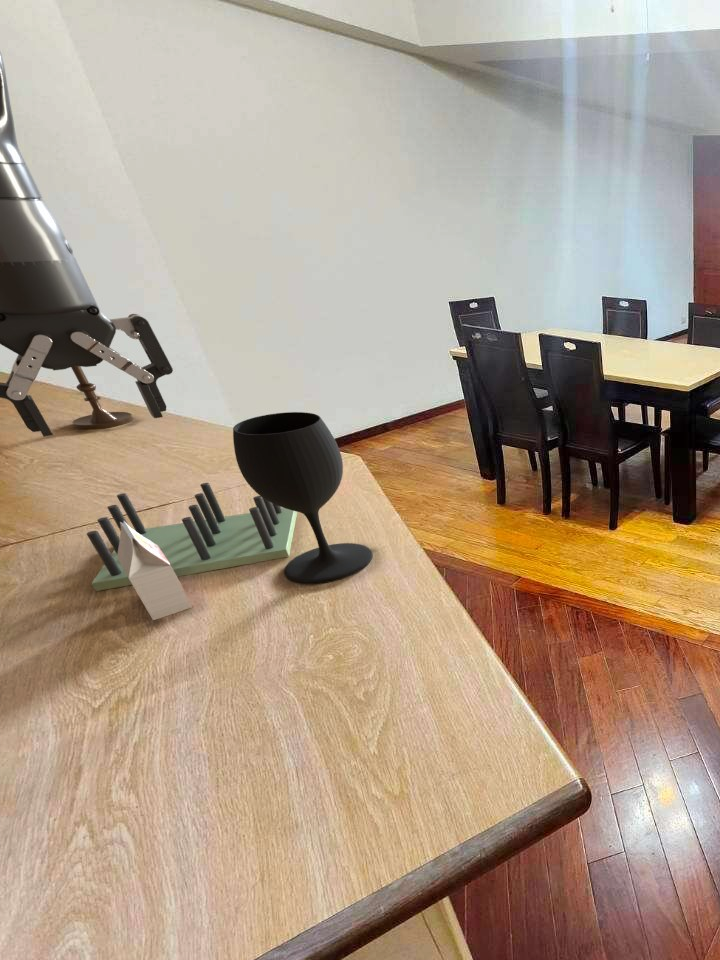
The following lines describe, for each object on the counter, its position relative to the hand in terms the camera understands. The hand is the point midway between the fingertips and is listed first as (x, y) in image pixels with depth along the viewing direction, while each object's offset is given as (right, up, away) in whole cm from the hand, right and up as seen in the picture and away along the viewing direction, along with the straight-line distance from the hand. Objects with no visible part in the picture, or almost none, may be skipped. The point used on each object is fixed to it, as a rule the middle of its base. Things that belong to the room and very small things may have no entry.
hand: (104, 425), depth 62 cm
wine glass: (+11, -15, +19) cm, 27 cm away
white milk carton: (-3, -20, +10) cm, 22 cm away
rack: (-8, -13, +21) cm, 26 cm away
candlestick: (-67, +14, +62) cm, 92 cm away
